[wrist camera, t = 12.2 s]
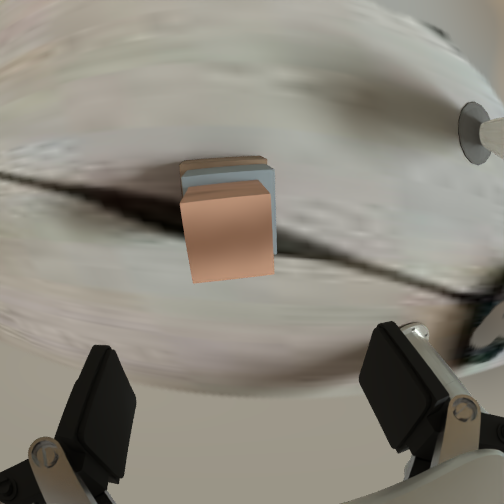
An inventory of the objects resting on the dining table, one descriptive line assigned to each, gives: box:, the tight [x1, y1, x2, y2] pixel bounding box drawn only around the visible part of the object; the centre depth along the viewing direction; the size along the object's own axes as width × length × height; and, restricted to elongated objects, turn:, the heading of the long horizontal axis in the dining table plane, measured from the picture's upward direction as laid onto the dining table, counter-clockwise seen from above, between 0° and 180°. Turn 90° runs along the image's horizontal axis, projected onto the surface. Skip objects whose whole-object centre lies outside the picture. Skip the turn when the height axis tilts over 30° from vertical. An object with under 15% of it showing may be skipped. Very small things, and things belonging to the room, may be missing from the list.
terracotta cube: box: [180, 180, 274, 283], centre depth 22 cm, size 6×6×6 cm
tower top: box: [181, 164, 277, 254], centre depth 27 cm, size 8×8×5 cm
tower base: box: [179, 156, 267, 198], centre depth 32 cm, size 9×9×5 cm
